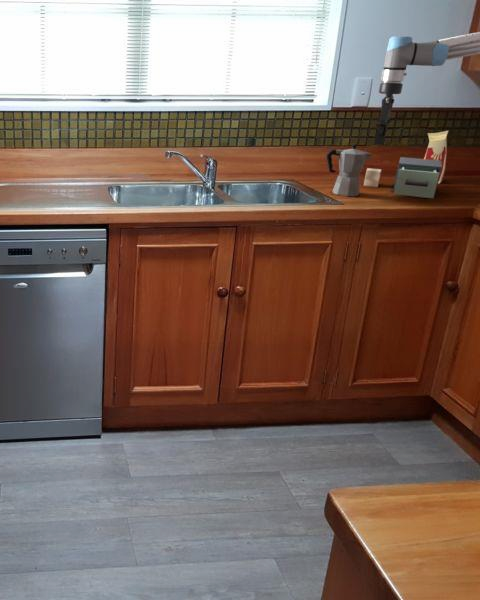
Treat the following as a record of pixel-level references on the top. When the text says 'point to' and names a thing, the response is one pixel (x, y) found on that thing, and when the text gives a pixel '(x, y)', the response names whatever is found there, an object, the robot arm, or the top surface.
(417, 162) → the cabinet
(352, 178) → the coffeepot
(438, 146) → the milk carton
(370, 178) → the block
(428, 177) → the bin
